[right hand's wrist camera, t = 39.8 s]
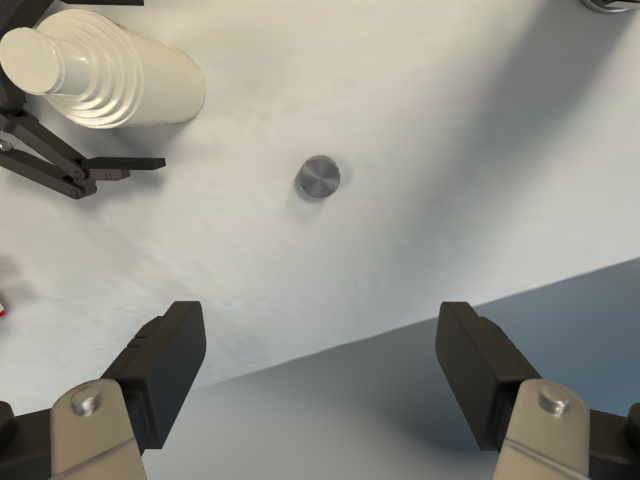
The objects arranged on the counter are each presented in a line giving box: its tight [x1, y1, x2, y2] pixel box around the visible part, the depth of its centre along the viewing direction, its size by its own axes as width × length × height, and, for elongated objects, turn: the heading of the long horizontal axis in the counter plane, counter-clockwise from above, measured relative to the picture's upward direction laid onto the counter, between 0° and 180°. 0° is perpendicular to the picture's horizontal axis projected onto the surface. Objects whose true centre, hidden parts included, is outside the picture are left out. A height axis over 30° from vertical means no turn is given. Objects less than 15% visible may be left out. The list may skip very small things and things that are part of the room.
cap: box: [300, 155, 340, 198], centre depth 39 cm, size 4×4×2 cm
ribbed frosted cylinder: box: [0, 9, 205, 129], centre depth 28 cm, size 8×8×19 cm
